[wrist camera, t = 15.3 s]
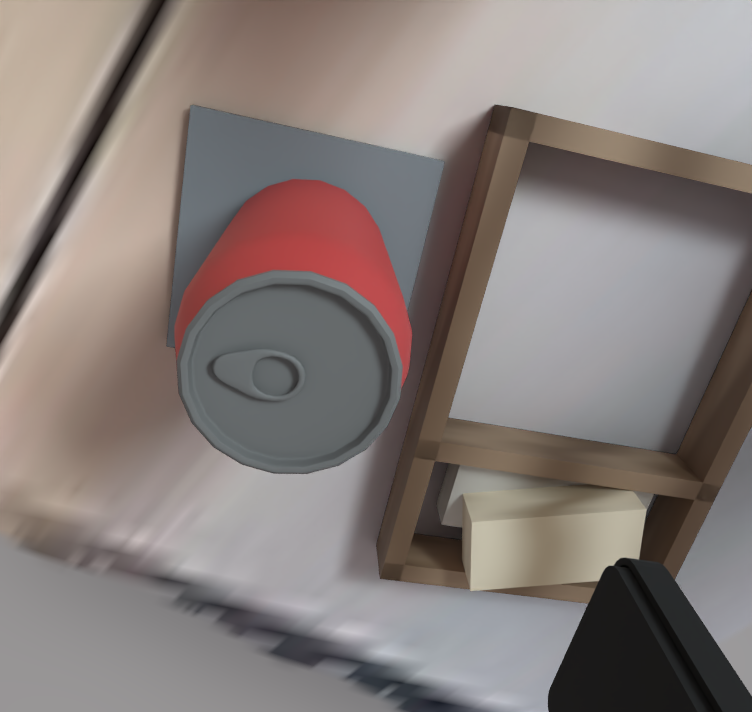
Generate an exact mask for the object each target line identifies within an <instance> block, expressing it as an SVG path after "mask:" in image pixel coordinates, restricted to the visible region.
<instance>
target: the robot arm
mask: <svg viewBox="0 0 752 712" xmlns="http://www.w3.org/2000/svg"><path fill="white" fill-rule="evenodd" d="M548 710H549V712H752V696H751V695H750V693H749V692H748V690H747V689H746V687H745V686H744V684H743V683H742V681H741V680H740V678H739V677H738V675H737V674H736V672H735V670H734V669H733V668H732V666H731V664H730V663H729V661H728V660H727V658H726V657H725V655H724V654H723V653H722V651H721V649H720V648H719V646H718V645H717V643H716V642H715V640H714V639H713V637H712V636H711V634H710V633H709V631H708V630H707V628H706V627H705V625H704V624H703V622H702V621H701V619H700V618H699V616H698V615H697V613H696V612H695V610H694V609H693V607H692V606H691V604H690V603H689V601H688V600H687V598H686V597H685V595H684V594H683V592H682V591H681V589H680V588H679V586H678V585H677V583H676V582H675V580H674V579H673V577H672V576H671V574H670V572H669V571H668V570H667V568H666V567H665V566H664V565H663V564H661V563H659V562H653V561H646V560H639V559H632V558H626V557H625V558H620V559H619V560H617V561H616V563H615V564H614V566H608V567H606V568H605V570H604V571H603V573H602V575H601V577H600V579H599V582H598V584H597V586H596V588H595V590H594V593H593V595H592V597H591V599H590V601H589V604H588V606H587V608H586V610H585V612H584V615H583V617H582V619H581V621H580V623H579V626H578V628H577V630H576V632H575V634H574V637H573V639H572V641H571V643H570V645H569V648H568V650H567V652H566V654H565V656H564V659H563V661H562V663H561V665H560V667H559V670H558V672H557V674H556V676H555V678H554V681H553V683H552V685H551V687H550V690H549V695H548Z"/></svg>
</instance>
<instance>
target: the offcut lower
mask: <svg viewBox="0 0 752 712" xmlns="http://www.w3.org/2000/svg"><path fill="white" fill-rule="evenodd" d="M584 484H585V483H579V482H572V481H565V480H559V479H552V478H545V477H538V476H532V475H525V474H518V473H512V472H505V471H498V470H492V469H485V468H478V467H472V466H465V465H458V464H452V463H449V464H448V467H447V470H446V474H445V477H444V480H443V484H442V487H441V490H440V493H439V497H438V500H437V503H436V505H437V509H438V513H439V517H440V521H441V525H447V526H454V527H462V513H463V493H476V492H489V491H502V490H516V489H529V488H543V487H557V486H570V485H584ZM634 493H635V494H636V496H637V497H638V498H639V500H640V501H641V502H642V504H643V505H644V506H645V508H646V511H647V509H648V507H649V505H650V502H651V500H652V498H653V496H654V494H652V493H646V492H639V491H634Z"/></svg>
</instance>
